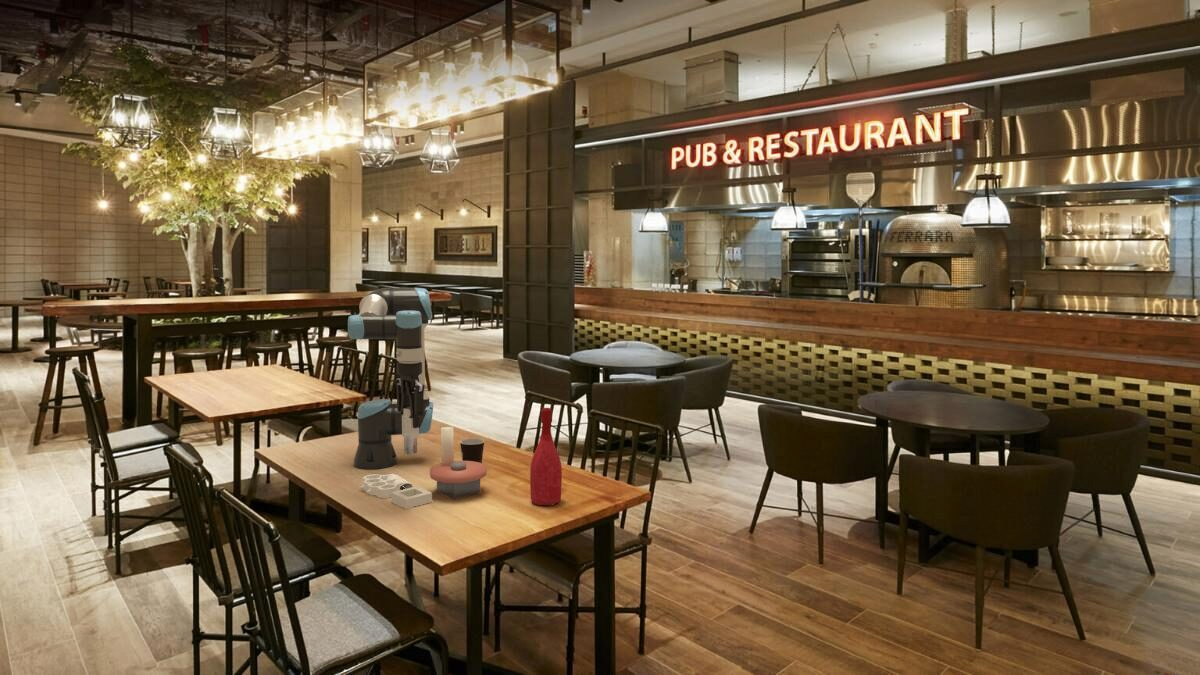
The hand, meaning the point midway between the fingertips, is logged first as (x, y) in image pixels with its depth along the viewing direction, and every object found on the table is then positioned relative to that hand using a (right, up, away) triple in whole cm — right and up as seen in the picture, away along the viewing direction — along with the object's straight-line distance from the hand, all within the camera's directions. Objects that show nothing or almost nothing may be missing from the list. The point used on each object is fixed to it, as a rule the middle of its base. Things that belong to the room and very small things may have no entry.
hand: (410, 436), depth 221 cm
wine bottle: (+41, -21, +4) cm, 47 cm away
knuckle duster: (-12, -20, +14) cm, 27 cm away
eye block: (0, -21, +2) cm, 21 cm away
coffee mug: (+12, -17, +40) cm, 45 cm away
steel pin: (0, -5, +1) cm, 5 cm away
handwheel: (+13, -14, +11) cm, 22 cm away
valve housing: (+12, -20, +12) cm, 26 cm away
